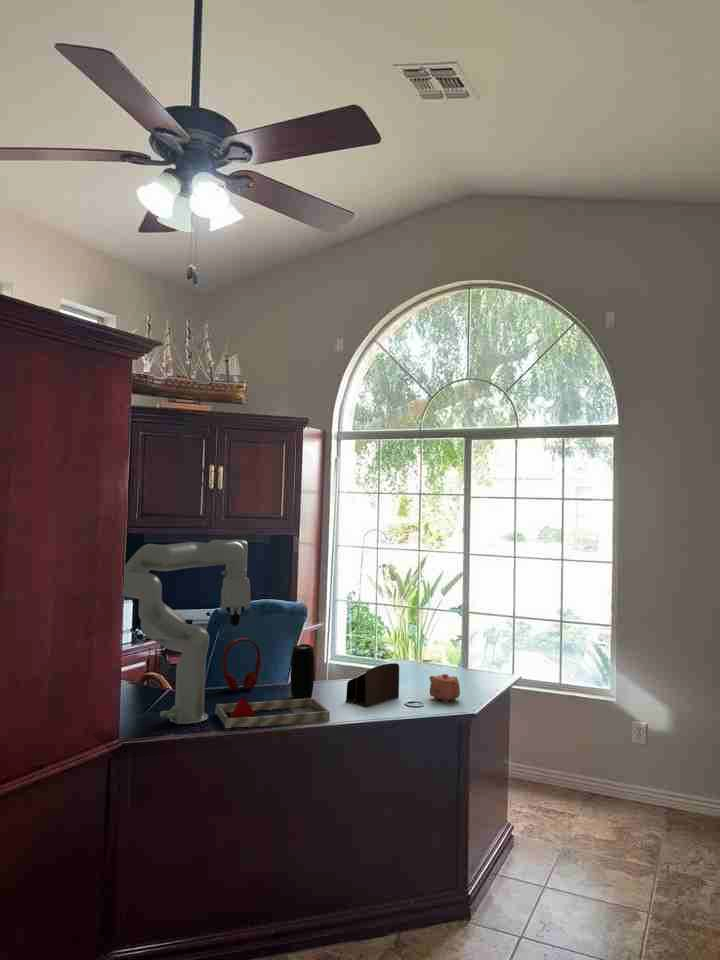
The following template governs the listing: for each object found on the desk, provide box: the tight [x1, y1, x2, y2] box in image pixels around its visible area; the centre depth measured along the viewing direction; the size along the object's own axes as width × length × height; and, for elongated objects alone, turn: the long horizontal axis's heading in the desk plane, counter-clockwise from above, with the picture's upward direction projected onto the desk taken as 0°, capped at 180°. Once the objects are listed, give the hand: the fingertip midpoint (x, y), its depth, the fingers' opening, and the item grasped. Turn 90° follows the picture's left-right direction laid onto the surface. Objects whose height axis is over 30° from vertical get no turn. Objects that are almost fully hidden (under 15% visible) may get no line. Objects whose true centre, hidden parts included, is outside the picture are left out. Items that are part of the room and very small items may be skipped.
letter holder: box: [345, 662, 400, 708], centre depth 282 cm, size 10×20×14 cm, turn 139°
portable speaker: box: [289, 643, 315, 700], centre depth 281 cm, size 9×9×20 cm
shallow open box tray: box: [215, 697, 331, 729], centre depth 255 cm, size 36×18×4 cm, turn 112°
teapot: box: [429, 673, 461, 703], centre depth 285 cm, size 12×12×10 cm
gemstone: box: [229, 698, 256, 718], centre depth 247 cm, size 9×9×10 cm
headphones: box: [221, 637, 261, 692], centre depth 289 cm, size 15×7×20 cm, turn 118°
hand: (234, 625), depth 267 cm, fingers closed
